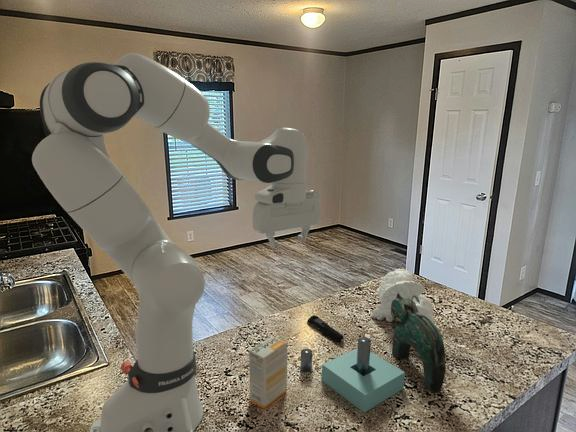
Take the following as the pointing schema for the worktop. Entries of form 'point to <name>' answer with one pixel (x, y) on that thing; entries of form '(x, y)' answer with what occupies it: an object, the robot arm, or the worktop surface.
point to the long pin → (363, 355)
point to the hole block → (363, 380)
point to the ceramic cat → (418, 340)
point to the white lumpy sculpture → (406, 288)
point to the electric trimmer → (325, 328)
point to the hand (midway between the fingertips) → (288, 244)
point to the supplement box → (268, 371)
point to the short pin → (306, 360)
